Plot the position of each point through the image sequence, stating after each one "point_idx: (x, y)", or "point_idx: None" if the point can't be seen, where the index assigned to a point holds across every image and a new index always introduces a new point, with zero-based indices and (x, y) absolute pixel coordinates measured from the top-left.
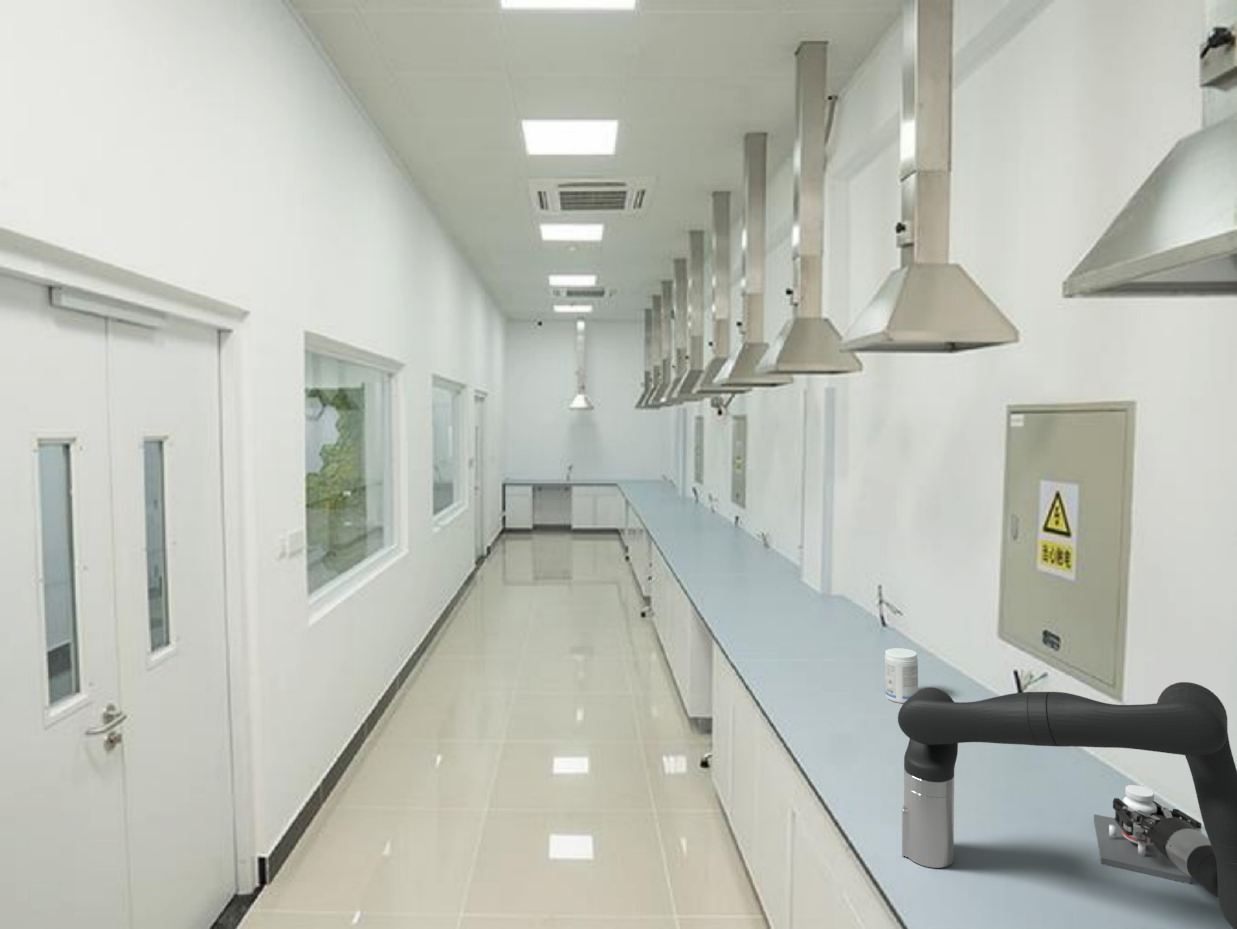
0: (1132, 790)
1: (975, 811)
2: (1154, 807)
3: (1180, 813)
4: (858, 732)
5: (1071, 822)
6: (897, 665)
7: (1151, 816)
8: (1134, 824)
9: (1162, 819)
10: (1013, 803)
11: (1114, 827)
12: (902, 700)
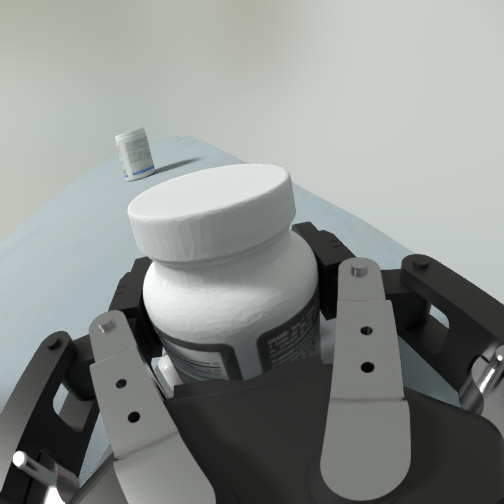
0: (158, 197)
1: (12, 323)
2: (291, 283)
3: (445, 287)
4: (53, 222)
5: None
6: (120, 144)
7: (139, 466)
8: (43, 490)
9: (300, 431)
10: (84, 292)
11: (170, 370)
12: (133, 177)
